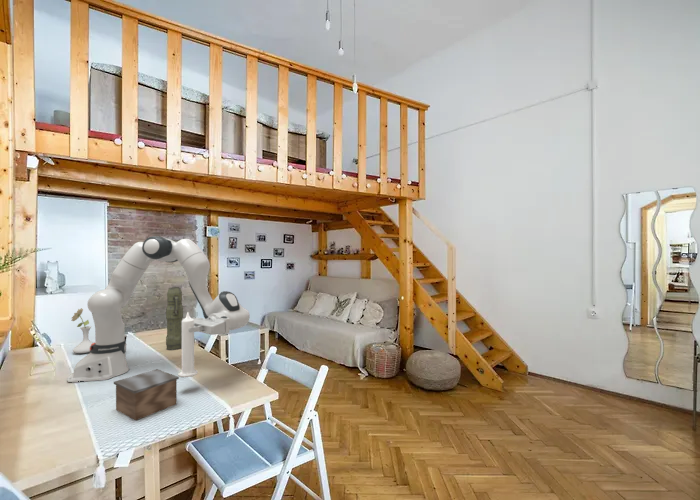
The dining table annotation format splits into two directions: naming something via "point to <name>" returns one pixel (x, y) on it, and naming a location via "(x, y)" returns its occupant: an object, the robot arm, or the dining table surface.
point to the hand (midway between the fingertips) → (186, 329)
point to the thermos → (174, 318)
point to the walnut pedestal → (146, 393)
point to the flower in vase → (85, 344)
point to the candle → (187, 348)
